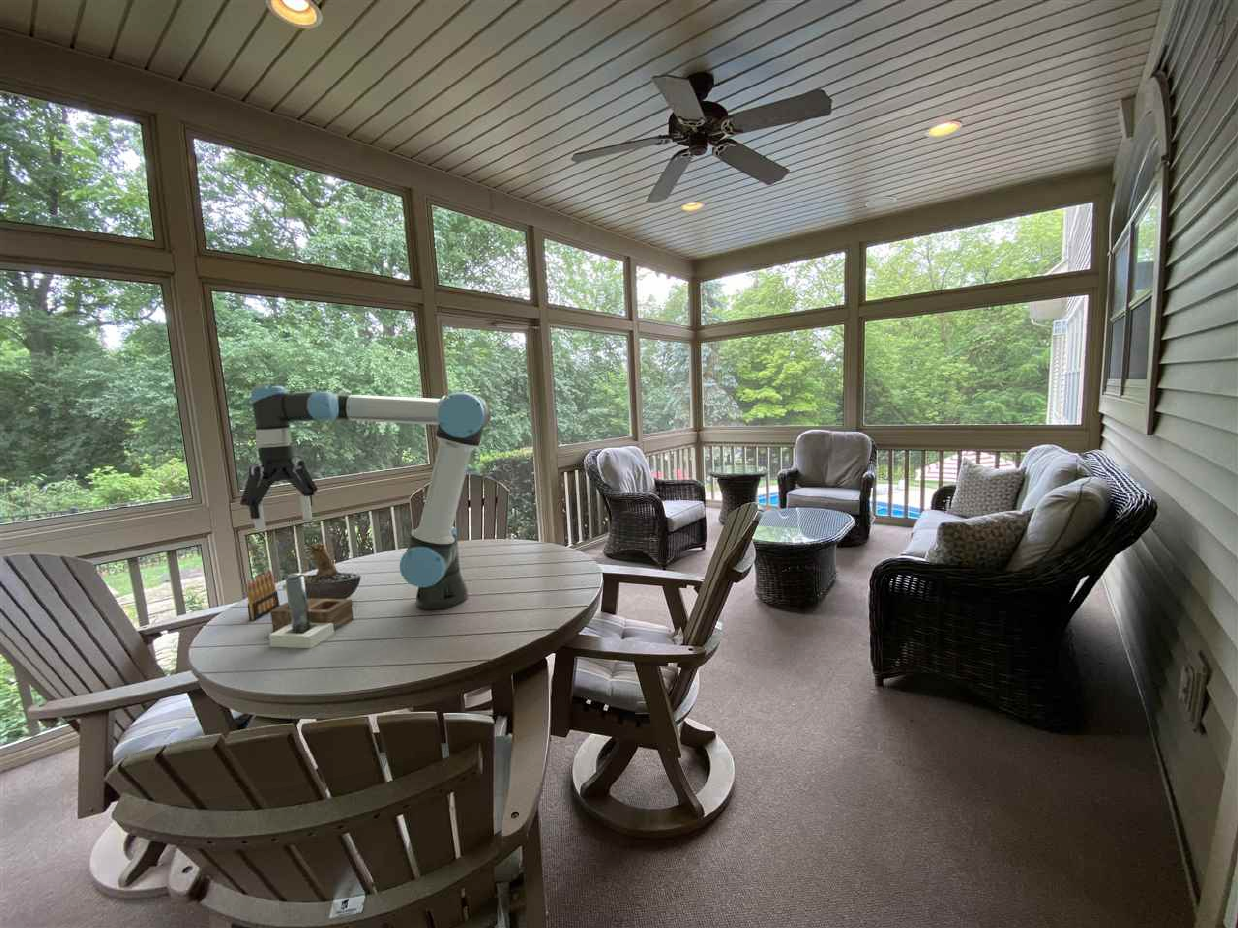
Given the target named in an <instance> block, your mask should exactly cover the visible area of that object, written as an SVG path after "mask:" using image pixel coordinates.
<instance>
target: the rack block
mask: <svg viewBox="0 0 1238 928" xmlns="http://www.w3.org/2000/svg"><path fill="white" fill-rule="evenodd" d="M310 627H311V629H310V630H309V631H307V632H305V633H303V634H293V631H292V623H291V624H289V625H287V626H285V627H283V628H282V629H280V630H278V631H276V632H272V633H270V634H269V635H268V638H269V644H270V645H269V646H270V647H277V648H278V647H279V648H296V649H297V648H299V649H300V648H301V649H302V648H303V649H312V648H314V647H316V646H317V645H318V644H320V643H322V642H323V641H325V640H327V639H328V638H330V637H331V636H333V635H335V631H334V628H333V623H312V622H310Z"/></svg>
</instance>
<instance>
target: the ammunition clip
mask: <svg viewBox="0 0 1238 928" xmlns="http://www.w3.org/2000/svg"><path fill="white" fill-rule="evenodd" d="M247 601H248V603H247V613H248V621H249V622H250V621H251V622H254V621H257V620H259V619H261V618H262V617H264V616H265V615H268V614H269V613H270V611H271V610H273V609H275V608H277V607H279V606H280V601H279V594H278V590H277V589H276V583H275V580H274V574H273V572H272V571H271V570H270V569H268V573H267V572H265V573H264V575H263V573H261V574H260V577H259V575H257V576H256V579H255V577H253V578H252V581H251V580H248V581H247Z"/></svg>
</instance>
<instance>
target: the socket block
mask: <svg viewBox="0 0 1238 928" xmlns="http://www.w3.org/2000/svg"><path fill="white" fill-rule="evenodd" d="M307 603H308V611H309V619H310V622H312V623H333V628H334V632H336V631H338V630H339V629H340V628H341V629H342V627H344V626H346V625H347V624H349V623H351V622H352V621H354V620H355V619H354V611H353V610H354V609H353V602H352V599H351V598H347V599H311V598H307ZM269 613H270V619H271V620H270V621H271V628H272V633H274V632H276V631H278V630H280V629H282V628H283V627H285V626H287V625H289V624H291V615H290V608H289V606H288V601H287V602H285V603H284V604H281V605H279V607H277V608H275V609H273V610H271V611H270V612H269Z"/></svg>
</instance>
